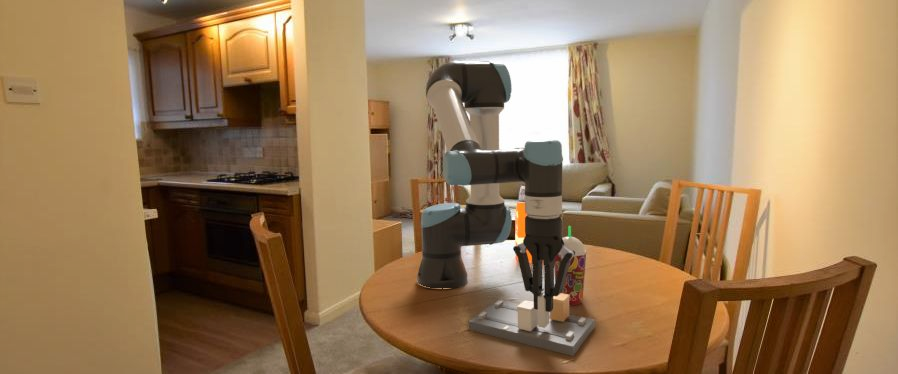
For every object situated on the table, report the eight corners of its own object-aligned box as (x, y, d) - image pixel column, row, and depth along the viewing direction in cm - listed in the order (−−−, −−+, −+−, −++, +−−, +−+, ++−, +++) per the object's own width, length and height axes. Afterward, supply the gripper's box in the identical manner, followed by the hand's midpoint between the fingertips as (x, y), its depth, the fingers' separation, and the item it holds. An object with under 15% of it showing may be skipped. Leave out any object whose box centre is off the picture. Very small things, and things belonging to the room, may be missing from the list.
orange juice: (544, 261, 152) (544, 204, 150) (518, 262, 152) (517, 204, 150) (539, 255, 160) (539, 200, 158) (515, 256, 160) (514, 201, 158)
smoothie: (580, 310, 110) (581, 230, 108) (548, 304, 115) (548, 227, 112) (589, 299, 117) (590, 224, 115) (558, 293, 122) (558, 221, 119)
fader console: (468, 329, 101) (468, 317, 101) (499, 307, 113) (498, 296, 113) (572, 356, 88) (573, 342, 87) (594, 327, 100) (594, 315, 100)
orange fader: (549, 319, 100) (549, 298, 99) (556, 312, 103) (556, 292, 103) (563, 322, 98) (563, 300, 98) (569, 315, 102) (569, 294, 101)
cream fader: (517, 328, 96) (516, 306, 95) (525, 321, 99) (524, 300, 98) (531, 331, 94) (530, 309, 93) (538, 324, 97) (538, 302, 97)
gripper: (506, 215, 92) (507, 324, 95) (568, 221, 85) (567, 338, 88) (521, 210, 98) (522, 312, 101) (580, 214, 91) (579, 324, 94)
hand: (543, 324), depth 95 cm, fingers closed
